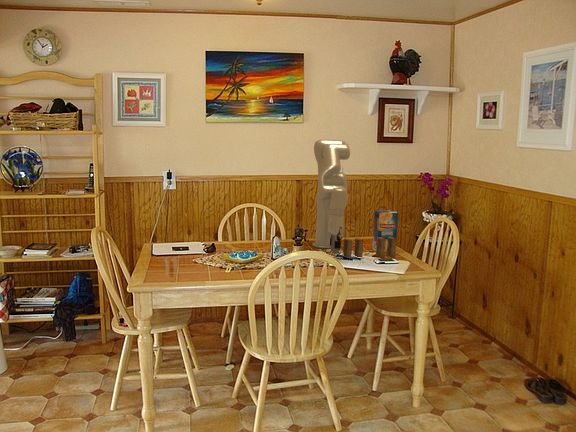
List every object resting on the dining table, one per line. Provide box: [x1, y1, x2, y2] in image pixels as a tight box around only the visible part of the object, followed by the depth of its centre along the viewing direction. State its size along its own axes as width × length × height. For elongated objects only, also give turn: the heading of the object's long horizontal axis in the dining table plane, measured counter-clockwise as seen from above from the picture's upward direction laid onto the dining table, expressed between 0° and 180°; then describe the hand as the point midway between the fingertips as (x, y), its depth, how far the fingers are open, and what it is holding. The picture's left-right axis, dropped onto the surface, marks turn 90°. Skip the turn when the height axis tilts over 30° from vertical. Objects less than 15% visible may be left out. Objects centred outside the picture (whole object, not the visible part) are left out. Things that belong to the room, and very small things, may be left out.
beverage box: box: [371, 209, 399, 253], centre depth 306 cm, size 7×11×22 cm, turn 103°
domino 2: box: [342, 237, 353, 258], centre depth 285 cm, size 5×2×10 cm, turn 20°
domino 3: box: [353, 237, 364, 258], centre depth 288 cm, size 5×2×10 cm, turn 20°
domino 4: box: [375, 237, 386, 259], centre depth 292 cm, size 5×2×10 cm, turn 20°
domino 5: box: [386, 237, 397, 258], centre depth 294 cm, size 5×2×10 cm, turn 20°
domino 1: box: [330, 234, 340, 255], centre depth 283 cm, size 5×2×10 cm, turn 20°
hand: (335, 246), depth 283 cm, fingers closed on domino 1, 4 cm apart
